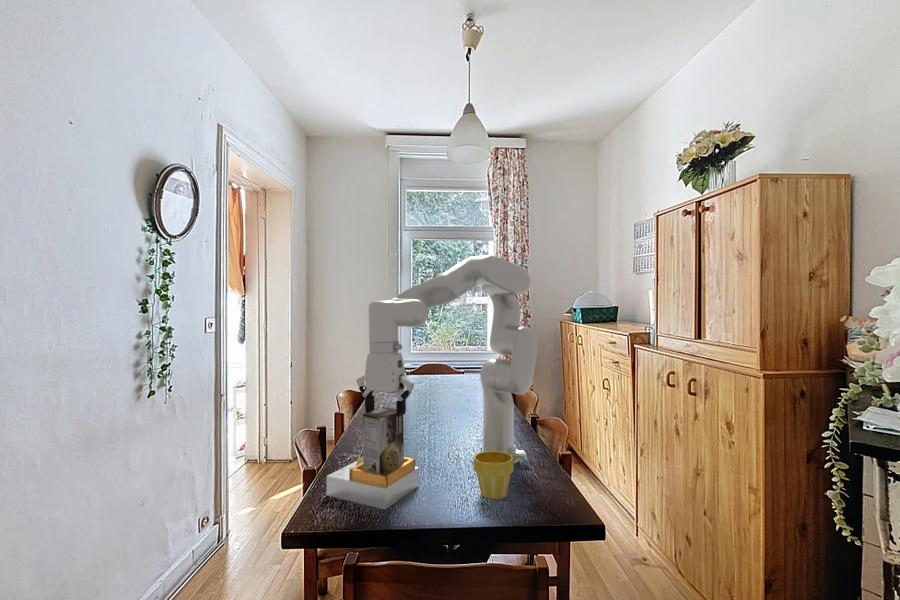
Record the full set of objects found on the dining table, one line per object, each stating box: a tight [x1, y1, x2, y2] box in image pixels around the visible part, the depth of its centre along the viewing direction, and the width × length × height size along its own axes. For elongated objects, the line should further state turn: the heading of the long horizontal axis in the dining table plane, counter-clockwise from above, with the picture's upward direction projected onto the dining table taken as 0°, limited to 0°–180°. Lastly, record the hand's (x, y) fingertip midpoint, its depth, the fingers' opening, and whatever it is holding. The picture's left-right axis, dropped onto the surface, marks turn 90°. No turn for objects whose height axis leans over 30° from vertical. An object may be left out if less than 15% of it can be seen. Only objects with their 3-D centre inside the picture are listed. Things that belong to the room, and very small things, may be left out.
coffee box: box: [362, 406, 405, 475], centre depth 124 cm, size 9×6×16 cm
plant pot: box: [473, 451, 515, 500], centre depth 123 cm, size 10×10×10 cm
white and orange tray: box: [326, 456, 420, 510], centre depth 125 cm, size 18×16×8 cm
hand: (385, 413), depth 124 cm, fingers open, 9 cm apart
